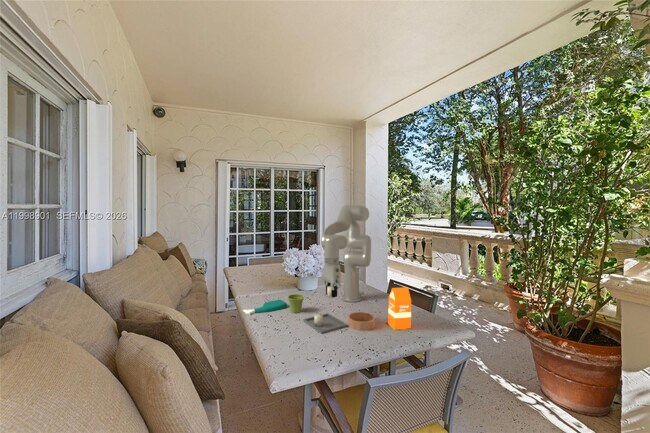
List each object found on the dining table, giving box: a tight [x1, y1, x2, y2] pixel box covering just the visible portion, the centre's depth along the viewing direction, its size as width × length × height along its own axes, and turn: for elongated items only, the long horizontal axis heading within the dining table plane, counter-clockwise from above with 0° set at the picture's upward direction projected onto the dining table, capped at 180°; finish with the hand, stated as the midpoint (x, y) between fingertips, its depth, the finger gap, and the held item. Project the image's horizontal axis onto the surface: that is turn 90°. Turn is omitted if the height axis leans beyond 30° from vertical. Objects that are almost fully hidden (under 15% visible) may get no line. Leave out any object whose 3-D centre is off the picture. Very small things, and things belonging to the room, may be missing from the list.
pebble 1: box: [313, 313, 323, 327], centre depth 147 cm, size 4×4×5 cm
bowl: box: [347, 311, 376, 332], centre depth 149 cm, size 13×13×4 cm
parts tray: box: [302, 313, 348, 335], centre depth 149 cm, size 16×18×2 cm
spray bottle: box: [242, 299, 288, 316], centre depth 170 cm, size 3×11×24 cm
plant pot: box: [287, 293, 305, 314], centre depth 167 cm, size 9×9×9 cm
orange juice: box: [387, 286, 412, 331], centre depth 148 cm, size 8×9×20 cm
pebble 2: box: [326, 285, 336, 299], centre depth 151 cm, size 4×4×5 cm
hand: (331, 295), depth 151 cm, fingers closed on pebble 2, 4 cm apart
